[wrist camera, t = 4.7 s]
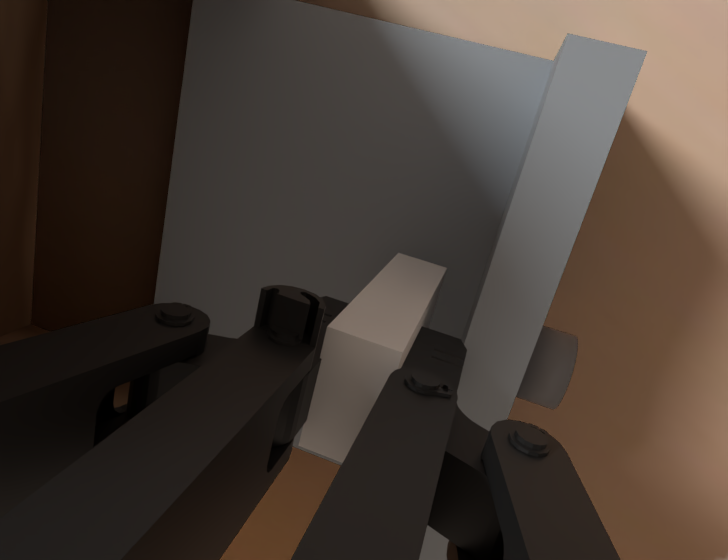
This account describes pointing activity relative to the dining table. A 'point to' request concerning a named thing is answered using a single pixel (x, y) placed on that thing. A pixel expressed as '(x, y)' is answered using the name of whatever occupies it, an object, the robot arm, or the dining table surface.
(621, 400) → the dining table surface
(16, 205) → the walnut shelf
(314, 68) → the pull-out tray
